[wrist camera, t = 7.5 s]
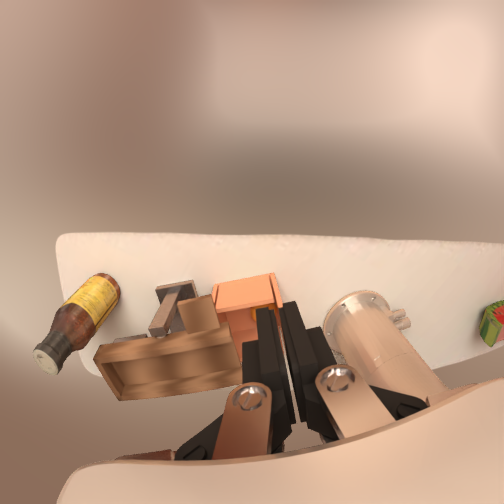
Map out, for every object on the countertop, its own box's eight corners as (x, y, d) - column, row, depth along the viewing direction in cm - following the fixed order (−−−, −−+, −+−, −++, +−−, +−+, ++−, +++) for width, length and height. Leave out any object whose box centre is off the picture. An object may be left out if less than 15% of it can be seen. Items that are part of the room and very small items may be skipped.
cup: (273, 272, 42) (287, 322, 28) (283, 323, 45) (297, 381, 31) (214, 284, 42) (202, 337, 29) (228, 333, 45) (224, 393, 32)
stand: (192, 279, 42) (177, 320, 31) (213, 342, 45) (206, 391, 34) (157, 286, 42) (132, 326, 31) (180, 347, 46) (166, 394, 34)
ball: (246, 296, 42) (271, 290, 42) (251, 318, 43) (275, 312, 43) (249, 308, 38) (277, 301, 38) (254, 331, 39) (281, 325, 40)
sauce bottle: (90, 267, 41) (19, 329, 22) (122, 276, 41) (59, 348, 22) (90, 301, 43) (30, 369, 24) (121, 310, 43) (68, 388, 24)
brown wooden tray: (219, 283, 34) (220, 305, 28) (240, 357, 37) (244, 383, 32) (93, 311, 32) (78, 332, 27) (127, 376, 36) (119, 401, 31)
